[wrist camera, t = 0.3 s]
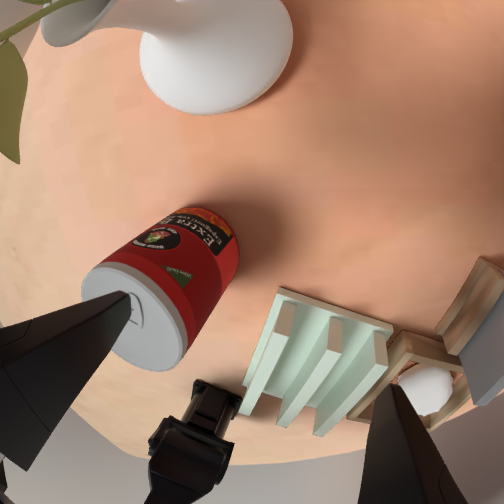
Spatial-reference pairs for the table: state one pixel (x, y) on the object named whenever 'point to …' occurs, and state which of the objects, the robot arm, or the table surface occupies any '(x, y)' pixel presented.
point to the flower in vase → (164, 51)
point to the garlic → (426, 387)
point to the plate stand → (471, 306)
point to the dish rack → (315, 359)
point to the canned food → (167, 284)
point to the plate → (486, 356)
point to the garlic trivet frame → (424, 353)
